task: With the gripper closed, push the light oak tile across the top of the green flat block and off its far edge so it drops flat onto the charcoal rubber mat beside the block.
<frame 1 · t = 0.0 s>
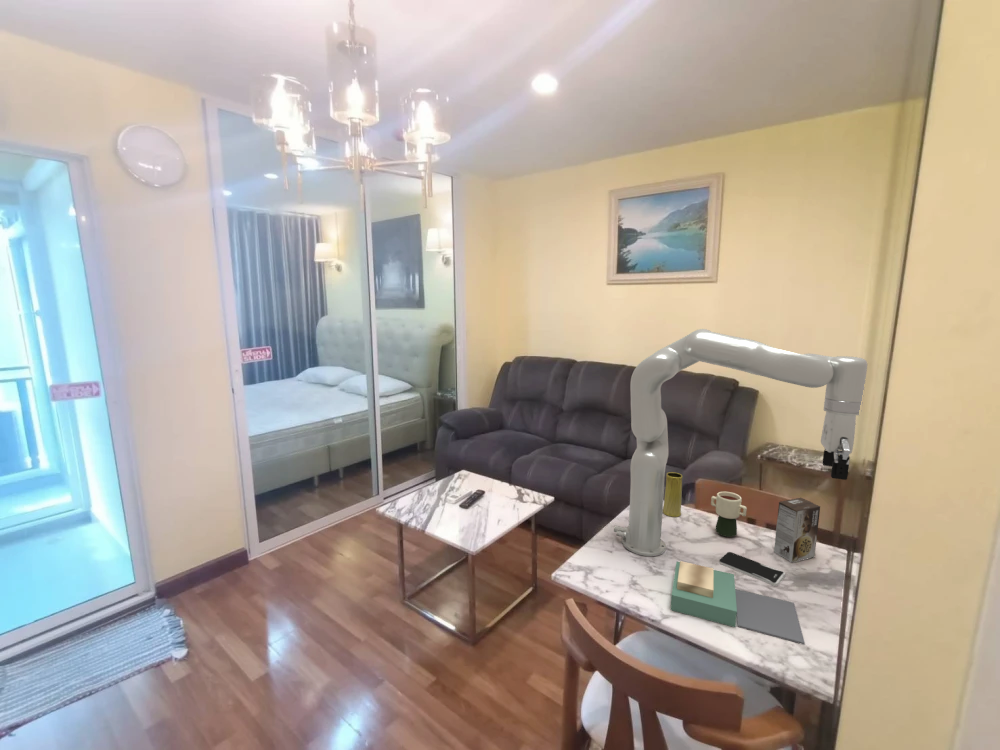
hand: (834, 471, 116), 31 cm above the table, tool pointing down, fingers open, 9 cm apart
oak tile: (695, 582, 115), point 4 cm above the table, touching green flat block
vase: (671, 513, 162), on the table
smartphone: (750, 571, 128), on the table
rubber mat: (766, 614, 109), on the table
green flat block: (702, 598, 115), on the table
coffee box: (793, 555, 135), on the table
character mug: (725, 534, 147), on the table
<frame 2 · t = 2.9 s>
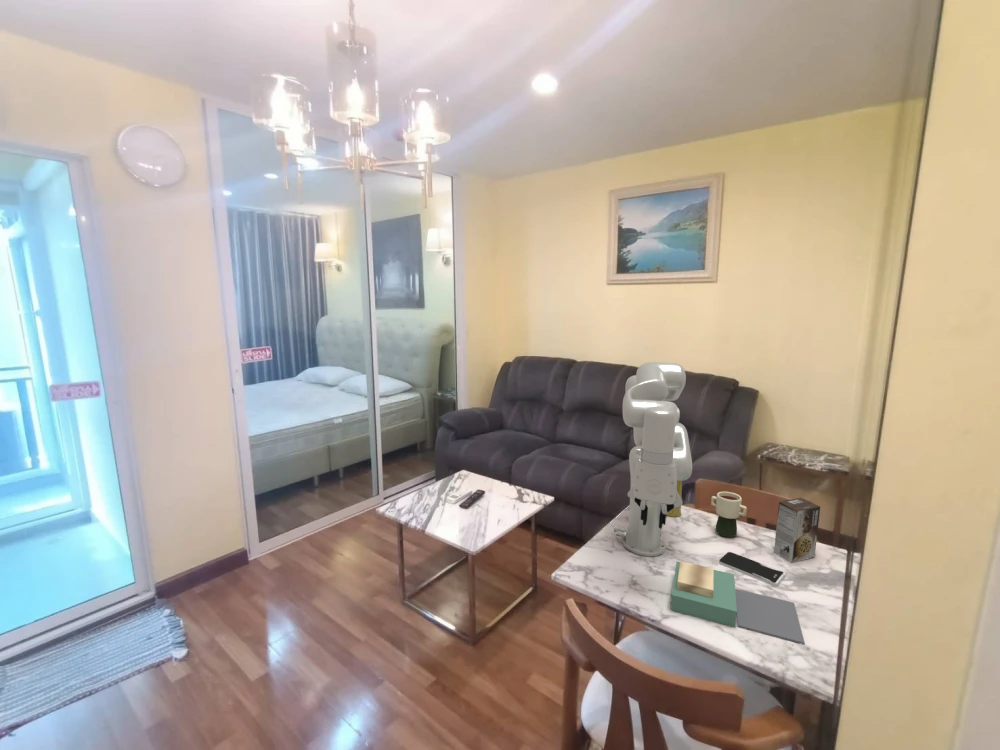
hand: (652, 523, 118), 17 cm above the table, tool pointing down, fingers open, 3 cm apart
nothing on the table moved.
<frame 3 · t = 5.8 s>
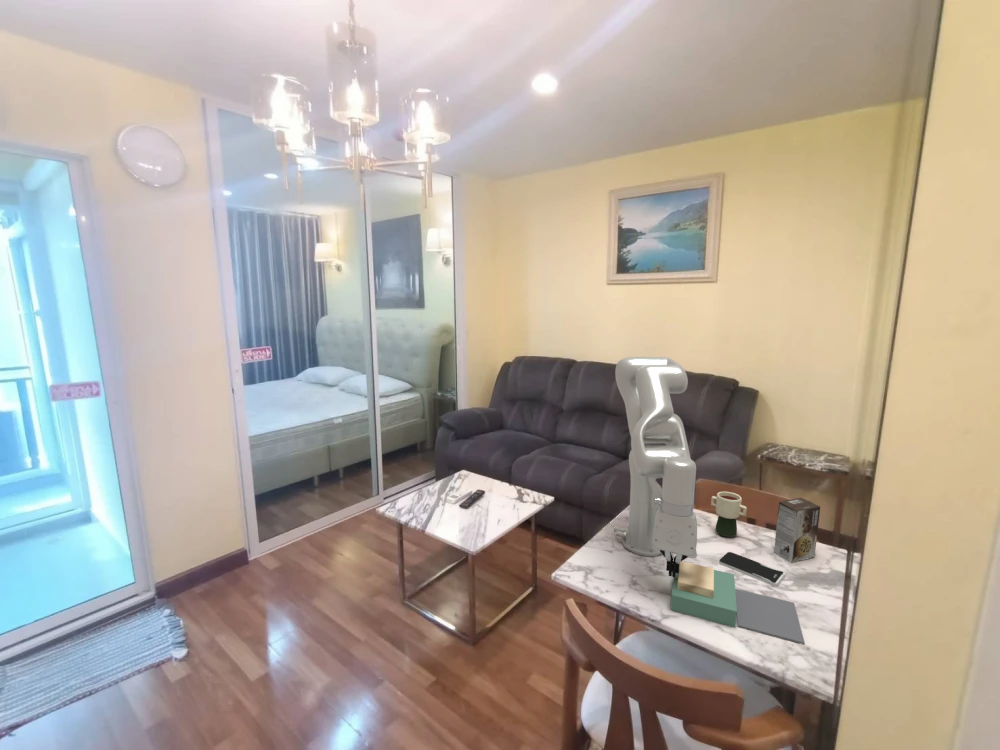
hand: (672, 574, 117), 5 cm above the table, tool pointing down, fingers closed
oak tile: (695, 582, 115), point 4 cm above the table, touching green flat block, gripper
everything else where it was.
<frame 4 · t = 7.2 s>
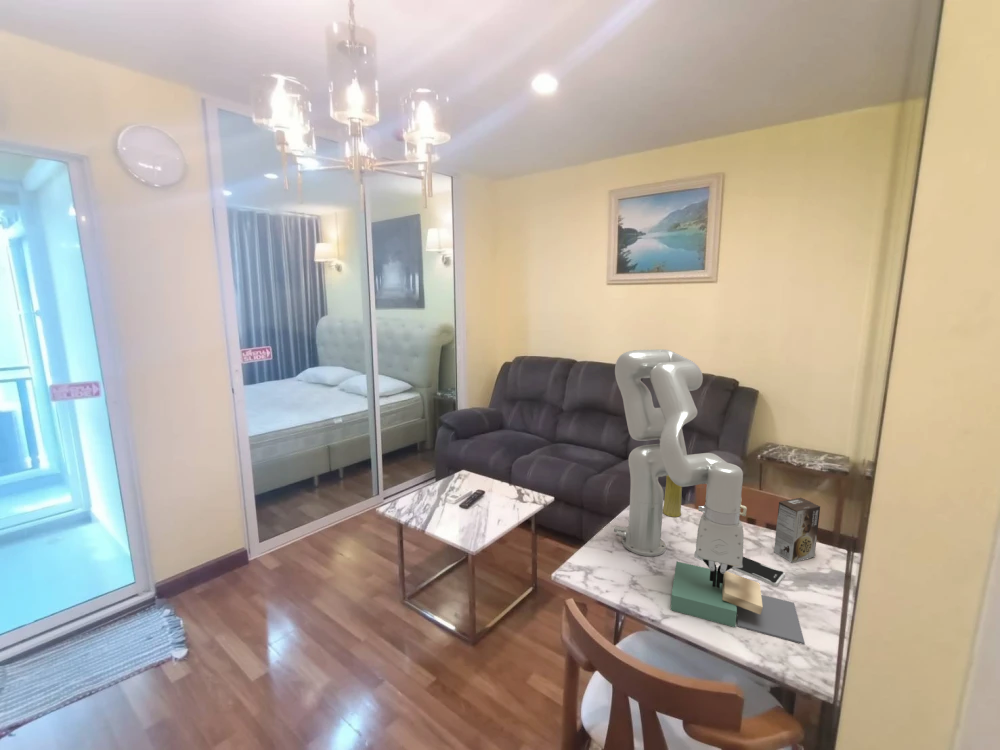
hand: (716, 584, 113), 5 cm above the table, tool pointing down, fingers closed
oak tile: (740, 595, 110), point 4 cm above the table, tilted 9°
everything else where it was.
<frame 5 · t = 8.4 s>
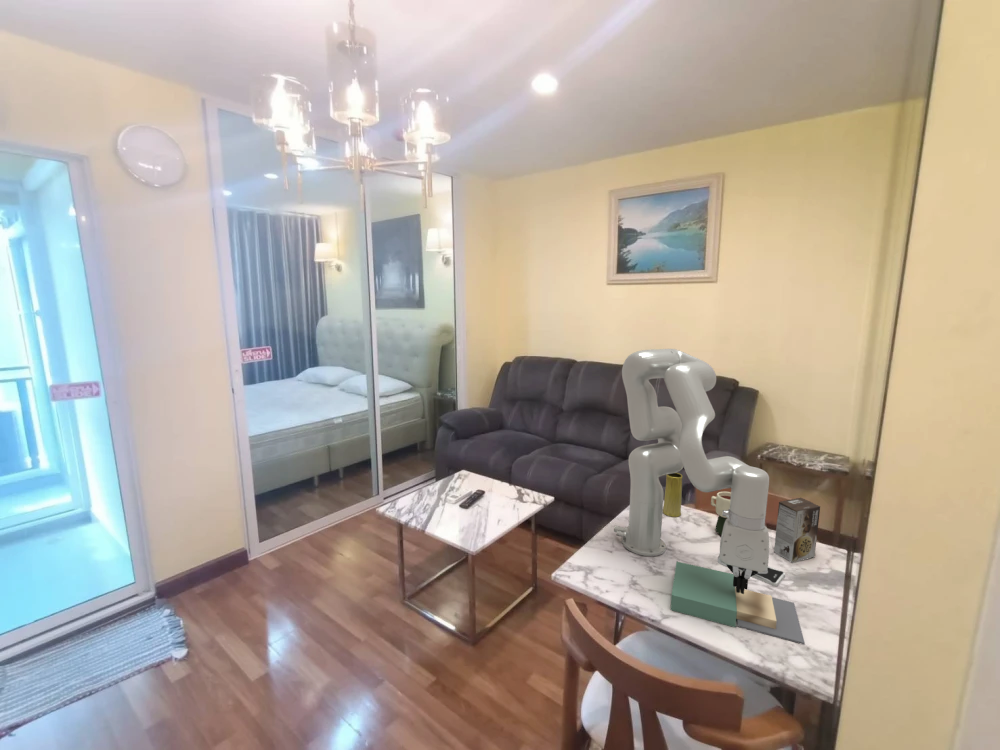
hand: (739, 590, 111), 5 cm above the table, tool pointing down, fingers closed
oak tile: (753, 610, 110), resting on rubber mat
everything else where it was.
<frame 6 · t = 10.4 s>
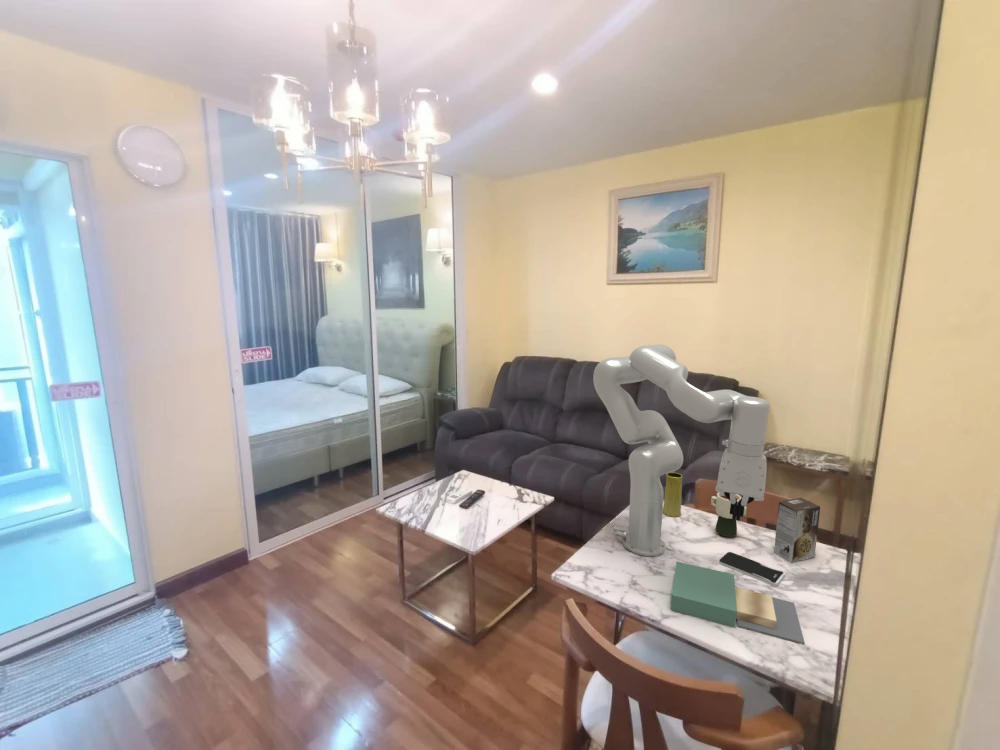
hand: (735, 517, 114), 21 cm above the table, tool pointing down, fingers closed
nothing on the table moved.
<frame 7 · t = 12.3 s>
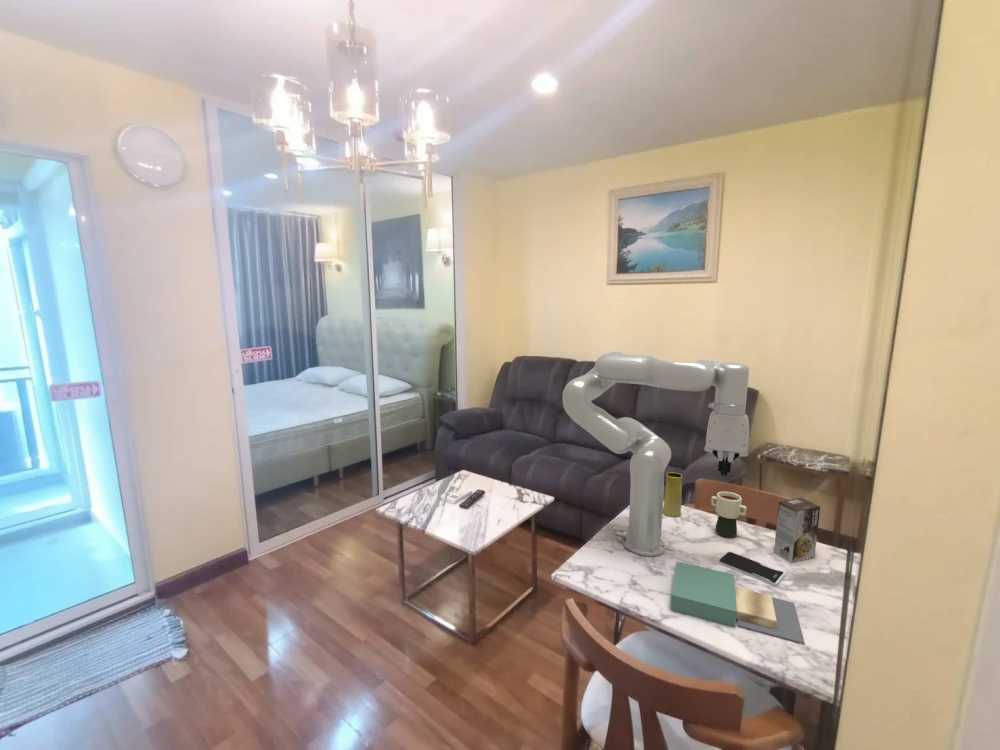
hand: (723, 474, 125), 27 cm above the table, tool pointing down, fingers closed
nothing on the table moved.
at the end: oak tile inside the target area (3.3 cm from its centre), resting on rubber mat; oak tile tilted 0°; oak tile touching rubber mat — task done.
